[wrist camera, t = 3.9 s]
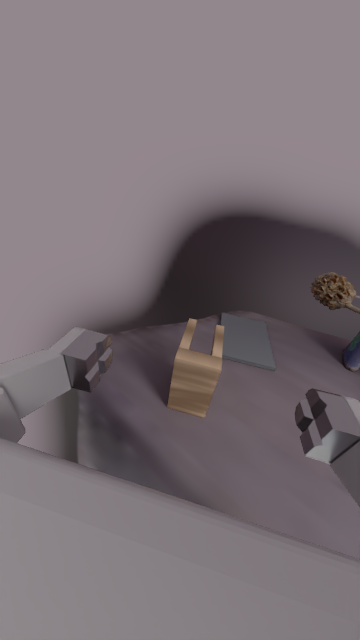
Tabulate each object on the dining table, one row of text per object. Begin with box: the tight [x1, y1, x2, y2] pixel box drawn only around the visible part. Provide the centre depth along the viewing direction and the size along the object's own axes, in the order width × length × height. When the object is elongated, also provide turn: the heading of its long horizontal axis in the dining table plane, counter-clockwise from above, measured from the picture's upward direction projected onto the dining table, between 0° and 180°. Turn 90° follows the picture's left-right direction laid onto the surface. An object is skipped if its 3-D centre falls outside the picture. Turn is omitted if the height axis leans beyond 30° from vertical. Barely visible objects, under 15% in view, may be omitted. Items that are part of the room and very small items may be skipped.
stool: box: [167, 318, 224, 418], centre depth 30 cm, size 9×6×10 cm, turn 167°
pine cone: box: [310, 272, 360, 314], centre depth 61 cm, size 22×10×10 cm, turn 14°
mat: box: [220, 313, 276, 371], centre depth 46 cm, size 16×11×1 cm
